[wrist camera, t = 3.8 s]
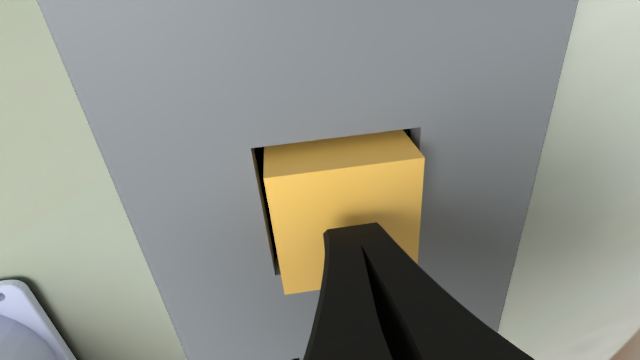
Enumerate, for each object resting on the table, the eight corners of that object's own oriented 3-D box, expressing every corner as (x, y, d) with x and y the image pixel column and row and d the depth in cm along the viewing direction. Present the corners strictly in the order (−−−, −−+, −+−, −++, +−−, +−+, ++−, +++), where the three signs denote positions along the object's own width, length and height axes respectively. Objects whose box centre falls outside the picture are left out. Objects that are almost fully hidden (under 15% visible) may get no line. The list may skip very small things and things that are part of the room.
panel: (234, 374, 21) (227, 455, 18) (-16, -388, 8) (-243, -665, 4) (444, 340, 22) (477, 412, 18) (547, -408, 8) (739, -658, 5)
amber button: (280, 223, 14) (284, 294, 11) (264, 124, 12) (263, 178, 9) (385, 209, 14) (416, 275, 11) (386, 109, 12) (424, 157, 9)
